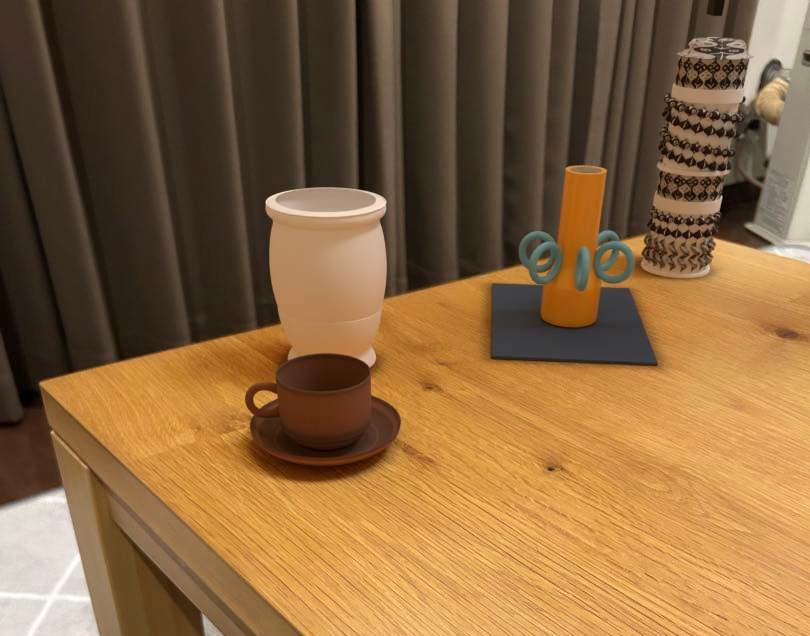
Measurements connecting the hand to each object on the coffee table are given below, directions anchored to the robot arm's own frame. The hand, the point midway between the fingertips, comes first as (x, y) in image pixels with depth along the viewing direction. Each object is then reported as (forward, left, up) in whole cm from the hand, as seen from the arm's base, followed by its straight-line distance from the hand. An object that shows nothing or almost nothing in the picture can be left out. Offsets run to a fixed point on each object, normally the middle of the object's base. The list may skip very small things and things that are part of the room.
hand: (797, 16), depth 72 cm
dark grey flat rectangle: (+14, +8, -29) cm, 33 cm away
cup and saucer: (+8, +44, -29) cm, 53 cm away
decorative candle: (+18, -17, -29) cm, 38 cm away
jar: (+21, +34, -29) cm, 49 cm away
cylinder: (+14, +8, -28) cm, 33 cm away
